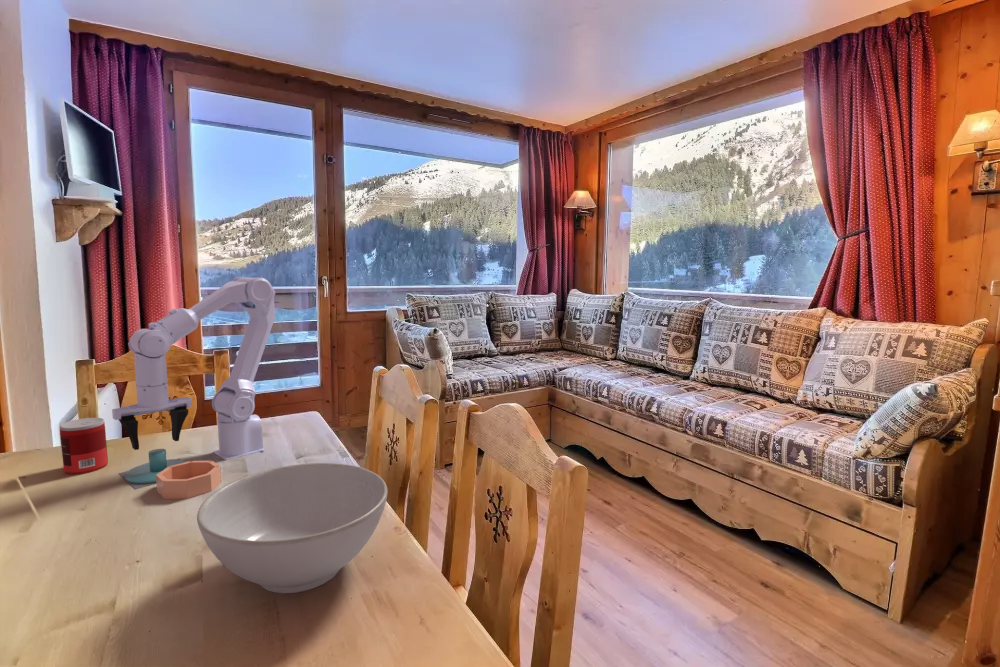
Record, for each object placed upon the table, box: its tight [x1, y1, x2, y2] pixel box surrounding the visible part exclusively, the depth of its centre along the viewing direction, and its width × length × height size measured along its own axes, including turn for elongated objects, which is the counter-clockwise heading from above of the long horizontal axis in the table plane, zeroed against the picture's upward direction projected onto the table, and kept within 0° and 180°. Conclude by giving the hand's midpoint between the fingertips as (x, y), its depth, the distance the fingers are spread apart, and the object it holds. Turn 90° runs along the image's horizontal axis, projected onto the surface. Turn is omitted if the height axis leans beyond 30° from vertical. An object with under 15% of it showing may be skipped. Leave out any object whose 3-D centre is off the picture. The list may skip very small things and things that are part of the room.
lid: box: [125, 448, 188, 484], centre depth 115 cm, size 12×12×5 cm
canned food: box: [59, 417, 109, 476], centre depth 117 cm, size 8×8×11 cm
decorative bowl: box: [196, 462, 389, 594], centre depth 80 cm, size 27×27×12 cm
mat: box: [118, 458, 182, 490], centre depth 116 cm, size 12×12×1 cm
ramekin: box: [156, 460, 222, 500], centre depth 109 cm, size 11×11×4 cm
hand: (156, 444), depth 115 cm, fingers open, 7 cm apart
